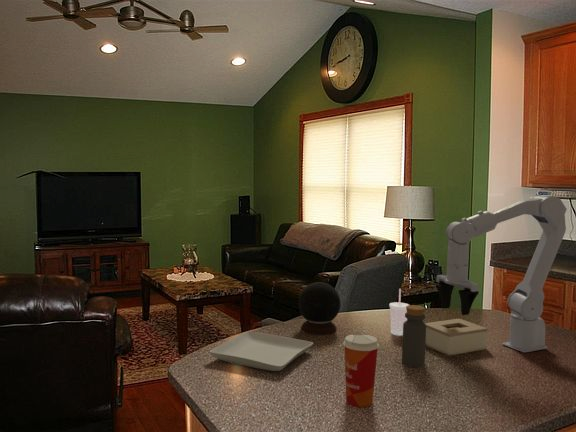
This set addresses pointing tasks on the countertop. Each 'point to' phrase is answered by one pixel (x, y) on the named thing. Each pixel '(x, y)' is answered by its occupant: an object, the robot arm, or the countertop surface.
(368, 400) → the paper cup
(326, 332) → the black ball on stand
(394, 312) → the beverage cup
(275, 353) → the salad plate
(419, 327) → the bottle
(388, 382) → the countertop surface
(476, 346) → the cream box with slot
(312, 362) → the countertop surface
